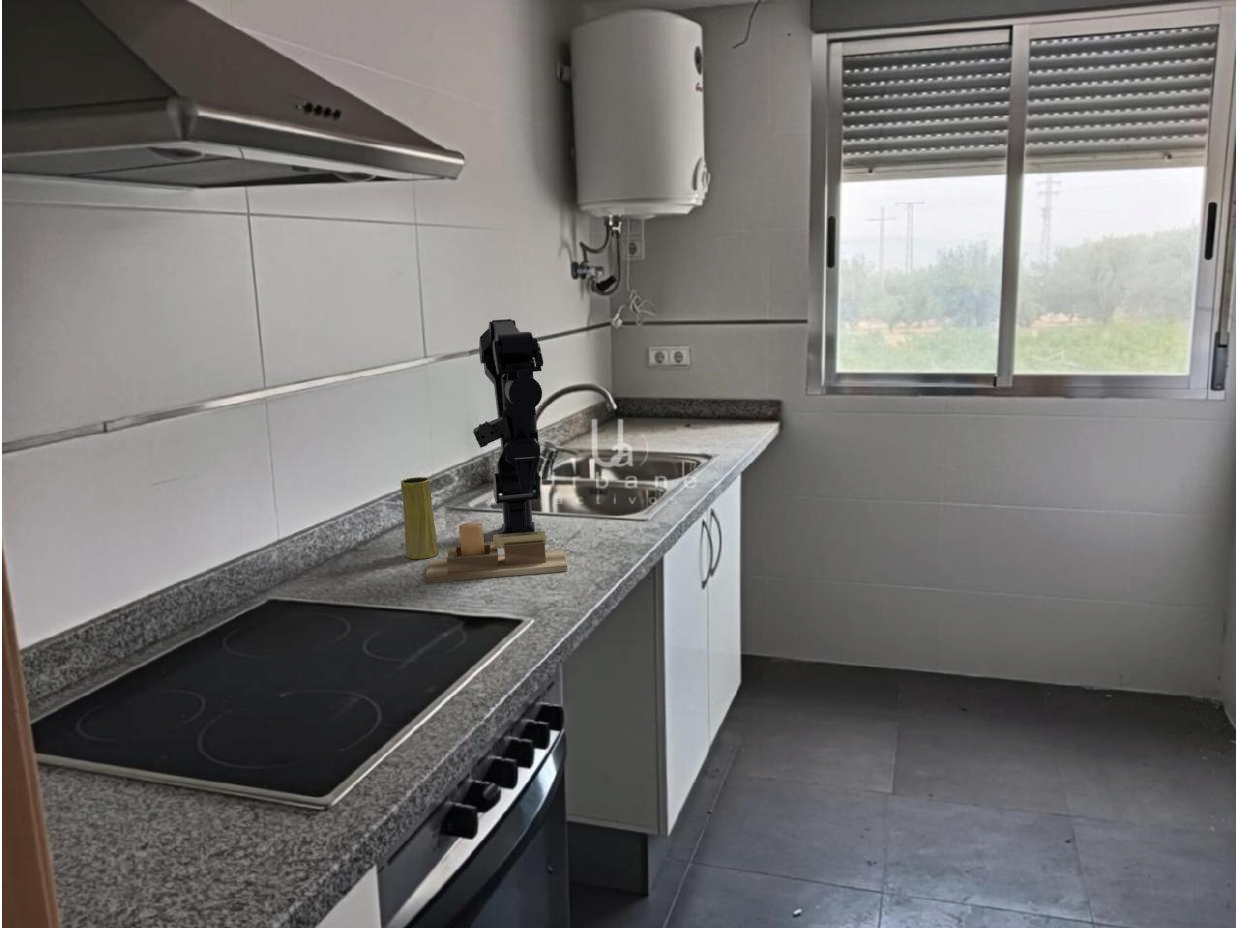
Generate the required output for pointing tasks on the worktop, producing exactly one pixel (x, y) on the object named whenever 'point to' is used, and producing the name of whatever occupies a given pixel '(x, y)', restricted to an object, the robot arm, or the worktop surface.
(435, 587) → the worktop surface
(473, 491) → the worktop surface
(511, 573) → the dock board
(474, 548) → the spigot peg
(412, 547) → the vase
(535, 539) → the bar
